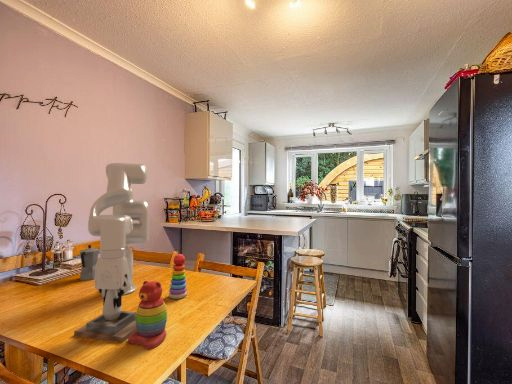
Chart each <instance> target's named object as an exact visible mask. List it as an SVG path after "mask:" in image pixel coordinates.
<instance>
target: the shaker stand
mask: <svg viewBox="0 0 512 384" xmlns="http://www.w3.org/2000/svg"><path fill="white" fill-rule="evenodd" d="M136 313H137V311H136V312H134V311H125V310H122V311H121V313H120V316H119V317H118V318H117V319H113V320H106V319H105V317H104V315H103V313H102V314H100V315H98V316H97V317H95V318H93V319H92V320H90V321H87V322H86V323H85V324H84V325H82V326H80V327H79V328H77V329H75V330H74V331H73V336H74V337H79V338H80V337H81V338H87V339H88V338H89V339H96V340H103V341H104V340H105V341H108V342H109V341H110V342H117V343H118V342H119V343H125V342H126V341H128V338H129V336H130V335H131V334H133V333H134V332H136V331H137V327H136Z"/></svg>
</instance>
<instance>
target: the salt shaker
mask: <svg viewBox="0 0 512 384" xmlns="http://www.w3.org/2000/svg"><path fill="white" fill-rule="evenodd" d="M118 291H119V290H118ZM114 298H115V294H114V290H107V293H106V298H105V303H104V306H103V305H102V306H103V307H102V311H101V312H102V314H103V315H104V317H105V319H106V320H113V319H117V318H118V317H119V316H120V313H121V311H123V307H122V305H121V306H120V307H117V304H116V306H115V310H114V305H113V299H114Z"/></svg>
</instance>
